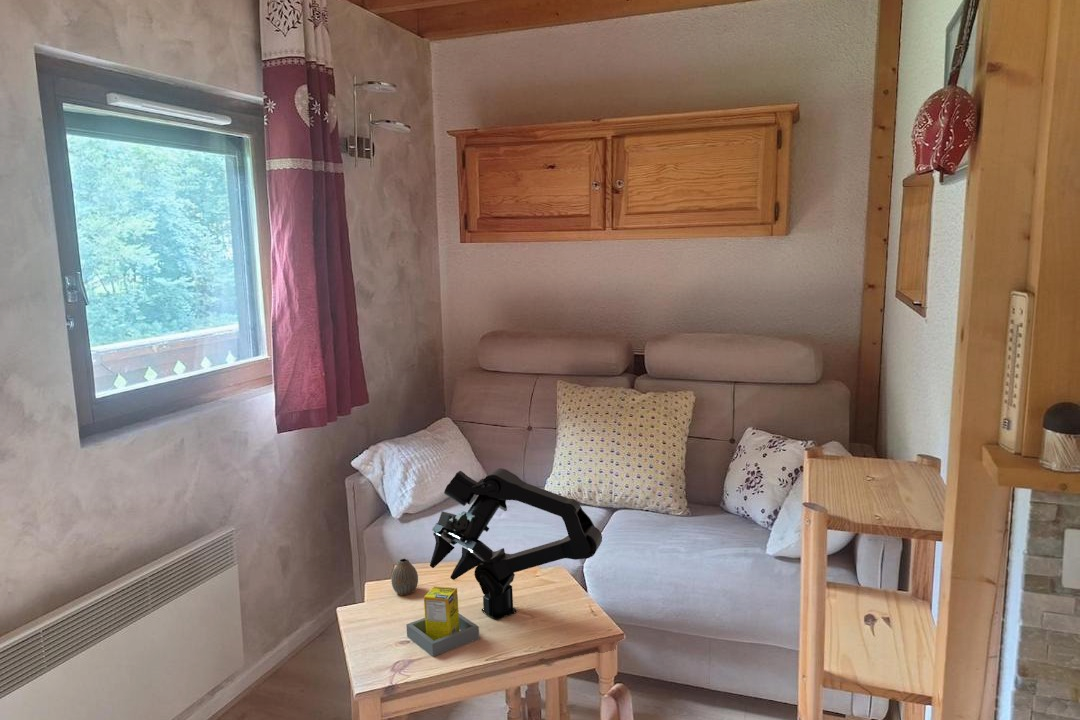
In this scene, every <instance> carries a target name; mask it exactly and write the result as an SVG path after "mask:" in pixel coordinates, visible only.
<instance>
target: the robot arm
mask: <svg viewBox="0 0 1080 720" xmlns="http://www.w3.org/2000/svg"><path fill="white" fill-rule="evenodd" d="M443 494H444V495H445V496H447V497H449V498H450V499H452V500H454V501H455V502H457V503H458V504H460V506H462V507H465V506H466V505H469V506H470V505H471V504H472V505H471V506H470V508H469V509H468V510H467V512H466V511H465V510H464V511H461V512H460V513H457V514H455V513H450V512H447V511H443V510H442V511H441V512H440V516H439V519H438V521H437V522H436V523H435V524H434V526H433V527H432V529H431V530H432V531H433V533H432V534H433V536H434V539H435V545H434V549H433V552H432V553H433V554H432V556H431V560H430V564H429V567H430V568H432V569H433V568H435V567H437V565H439V564H440V563H441V562H442V561H443V560H444V559H445V558H446V557H447V556H448V555H449V554H450V553H451V552H452V551H453V550H454V549H455V545H456V544H458V545H460V546H462V547H461V557H460V559H459V561H458V562H457V564H456V565H455V566H454V569H453V571H452V573H451V575H450V579H451V580H453V581H455V580H457V579H458V578H460V577H461V576H463V575H464V574H466V573H468V572H469V571H470V570H472V569H474V568H475V569H474V574H473V575H474V578H475V581H476V582H477V583H478V584H479V586H480V590H481V592H482V593H483V596H482V604H483V605H482V606H483V608H481V612H482V611H484V612H485V613H486V614H485V613H484V612H483V613H484V614H485V615H487V616H488V615H489V617H490V618H491V619H493V620H495V621H496V620H500V619H502V618H505V617H507V616H511V615H513V614H515V613H517V612H518V609H516V608H515V607H514V595H513V585H512V584H511V583H513V581H514V579H515V573H517V572H521V571H525V570H529V569H531V568H536V567H539V566H542V565H545V564H546V565H547V564H549V563H553V562H556V561H559V560H560V561H561V560H563V559H567V560H568V559H569V560H574V561H575V560H587V559H590V558H592V557H593V556H594V555H595V554H596V552H597V551H598V550H599V548H600V546H601V544H602V542H603V535H602V532H601V531H600V529H598V527H596V526H595V524H594V523H593V521H592V519H591V517H590V516H589V515H588V514H587V513H586V512H585V511H584V509H582V506H581V505H580V503H579V501H578V500H576V499H575V498H570V497H569V498H568V497H566V496H563V495H560V494H557V493H554V492H552V491H549V490H546V489H545V488H544V489H543V488H541V487H538V486H535V485H532V484H530V483H527V482H525V481H524V480H522V479H521V478H520V477H519V476H517V475H516V474H515V473H513V472H511V471H509V470H507V469H505V468H497V469H495V470H493V471H492V472H490V473H489V474H488V475H486V477H484V478H481V479H480V480H479V481H476V480H474V479H473V478H472V477H470V476H469V475H467V474H466V473H465V472H463V471H462V470H459V471H457V472H456V473H455V475H454V476H453V478H452V479H451V480H450V482H449V483H448V484H447V485H446V487H445V489H444V492H443ZM507 501H516V502H520V503H522V504H525V505H529V506H531V507H533V508H536V509H539V510H542V511H544V512H547V513H549V514H553V515H554V516H558V517H561V518H562V521H563V522H564V525H565V528H566V531H567V536H565V537H564V538H562V539H558V540H555V541H551V542H548V543H545V544H542V545H538V546H535V547H532V548H527V549H524V550H522V551H518V552H515V553H508V552H507V553H506V552H505V548H504V547H503V548H500V549H499V550H495V551H493V550H492V548H490V547H489V546H487V544H485V543H484V542H483V541H482V540H479V539H480V537H481V535H482V534H483V532H486V533H487V532H488V531H489V530H490V528H489V526H488V525H489V523H491V520H492V519H493V517H494V516H495V515H496V512H497V511H498V510H499V509H501V510H502V511H504V512H507V511H508V507H507ZM483 609H484V610H483Z"/></svg>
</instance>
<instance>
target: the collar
mask: <svg viewBox="0 0 1080 720" xmlns="http://www.w3.org/2000/svg"><path fill="white" fill-rule="evenodd" d="M459 629H460V631H459V632H456V633H453V634H451V635H448V636H445V637H443V638H440V639H437V640H435V641H434V640H432V639H431V638H430V637H428V636H427V635H426V623H425V617H424V618H421V619H417V620H415V621H412V622H409V623H407V624H406V636H407V638H409V639H410V641H412V642H414V643H415V644H416V645H417V646H419V647H420V648H421V649H422V650H424V651H425V652H426V653H427V654H428V655H430V656H431V657H432V658H433V657H437V656H439V655H441V654H444V653H447V652H449V651H452V650H455V649H457V648H460V647H462V646H465V645H467V644H470V643H473V642H475V641H478V640H480V627H479V626H478V625H477V624H476V623H474V622H473V621H471V620H469V619H468V618H467V617H465V616H464V615H462V614H460V613H459Z"/></svg>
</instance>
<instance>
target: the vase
mask: <svg viewBox="0 0 1080 720" xmlns="http://www.w3.org/2000/svg"><path fill="white" fill-rule="evenodd" d="M391 573H392V574H391V580H390V581H391V585H392V588H393V591H394V592H395V593H396V594H398V595H399V596H409V595H412V594H413V593H414V592H415V591H416V589H417V588H418V584H419V575H418V571H417V569H416V568H415V566H414V565H413V564H412V563H411V562H410V560H409V559H408V558H401V559H399V560H398V562H397V564H396V566H395V568H394V569H393V571H392V572H391Z"/></svg>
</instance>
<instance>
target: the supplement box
mask: <svg viewBox="0 0 1080 720" xmlns="http://www.w3.org/2000/svg"><path fill="white" fill-rule="evenodd" d="M458 596H459V595H458V587H447V586H436V585H435V586H432V587H431V589H429V591H428V592H426V594H425V595H424V597H423V605H424V618H425V623H426V632H425V634H426V635H427V636H428V637H430V638H431V639H432V640H434V641H435V640H437V639H440V638H443V637H445V636H448V635H451V634H453V633H456V632H459V631H461V630H460V629H459V614H460V611H459V599H458V598H459V597H458Z"/></svg>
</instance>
